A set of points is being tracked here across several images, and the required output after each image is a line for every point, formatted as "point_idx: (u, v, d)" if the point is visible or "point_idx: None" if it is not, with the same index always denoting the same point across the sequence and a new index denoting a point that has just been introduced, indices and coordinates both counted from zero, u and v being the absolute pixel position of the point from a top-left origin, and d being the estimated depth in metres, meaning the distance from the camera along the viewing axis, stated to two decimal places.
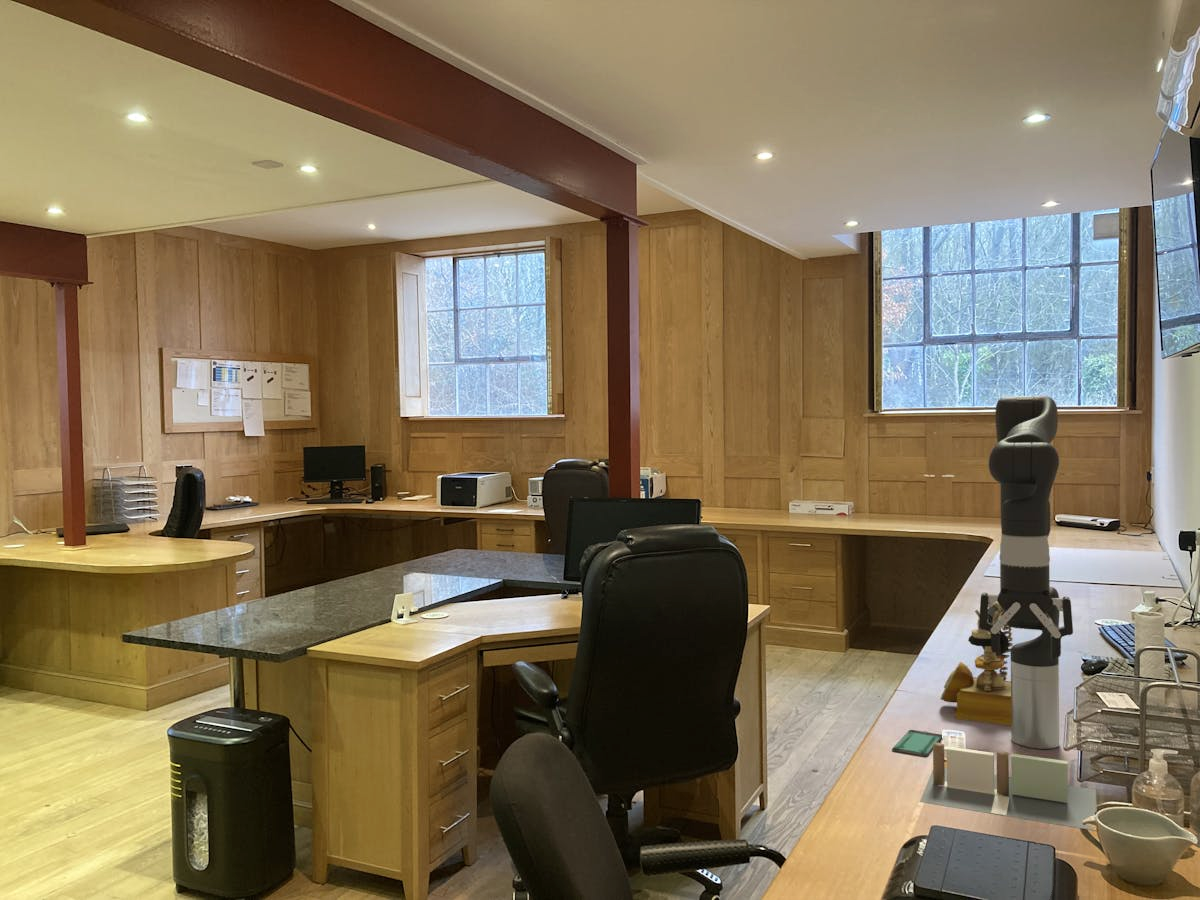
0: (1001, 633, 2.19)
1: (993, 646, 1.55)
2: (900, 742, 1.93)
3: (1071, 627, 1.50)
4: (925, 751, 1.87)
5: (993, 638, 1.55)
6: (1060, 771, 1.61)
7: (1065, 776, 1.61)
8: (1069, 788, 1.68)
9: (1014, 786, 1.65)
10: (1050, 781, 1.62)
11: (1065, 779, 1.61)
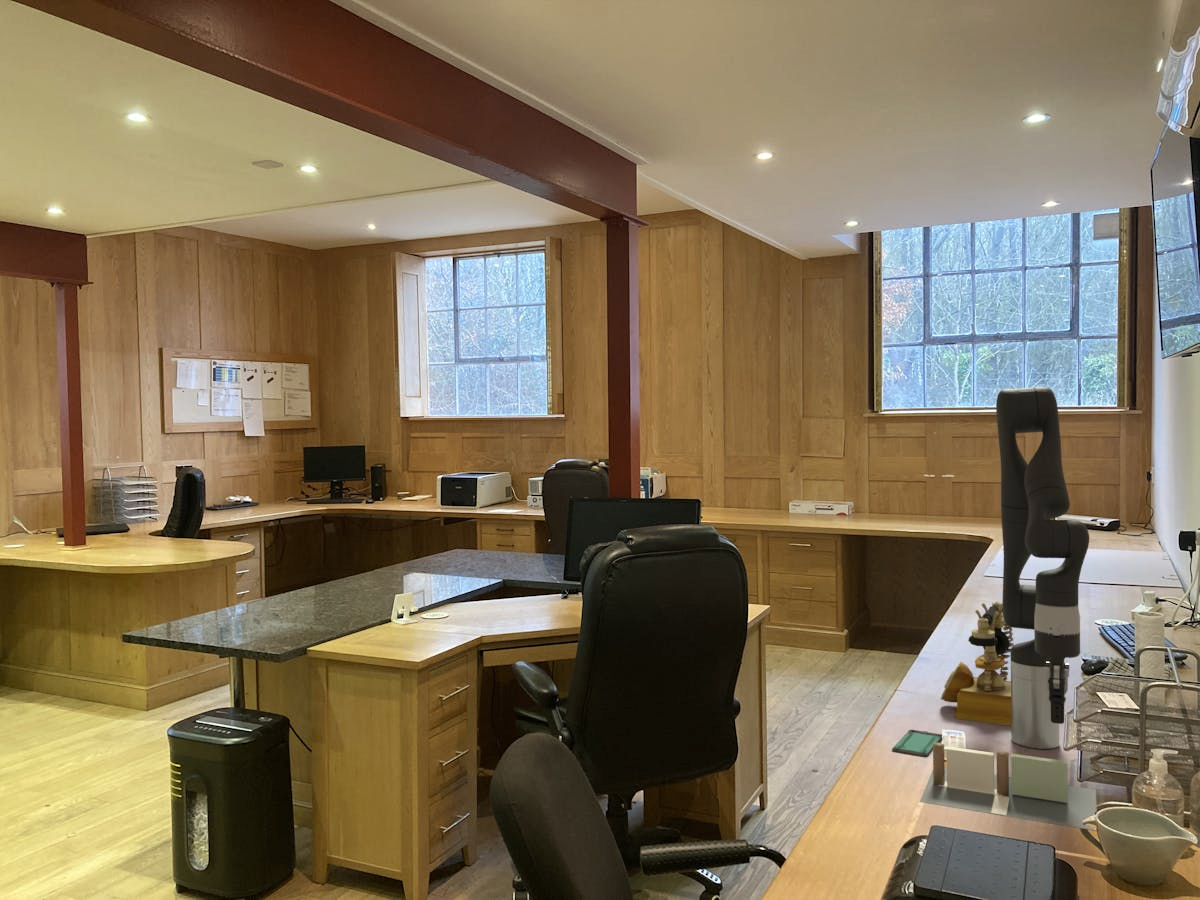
0: (1002, 633, 2.19)
1: (1061, 715, 1.67)
2: (900, 742, 1.93)
3: None
4: (925, 751, 1.87)
5: (1061, 708, 1.67)
6: (1060, 771, 1.61)
7: (1065, 776, 1.61)
8: (1069, 788, 1.68)
9: (1014, 786, 1.65)
10: (1050, 781, 1.62)
11: (1065, 779, 1.61)
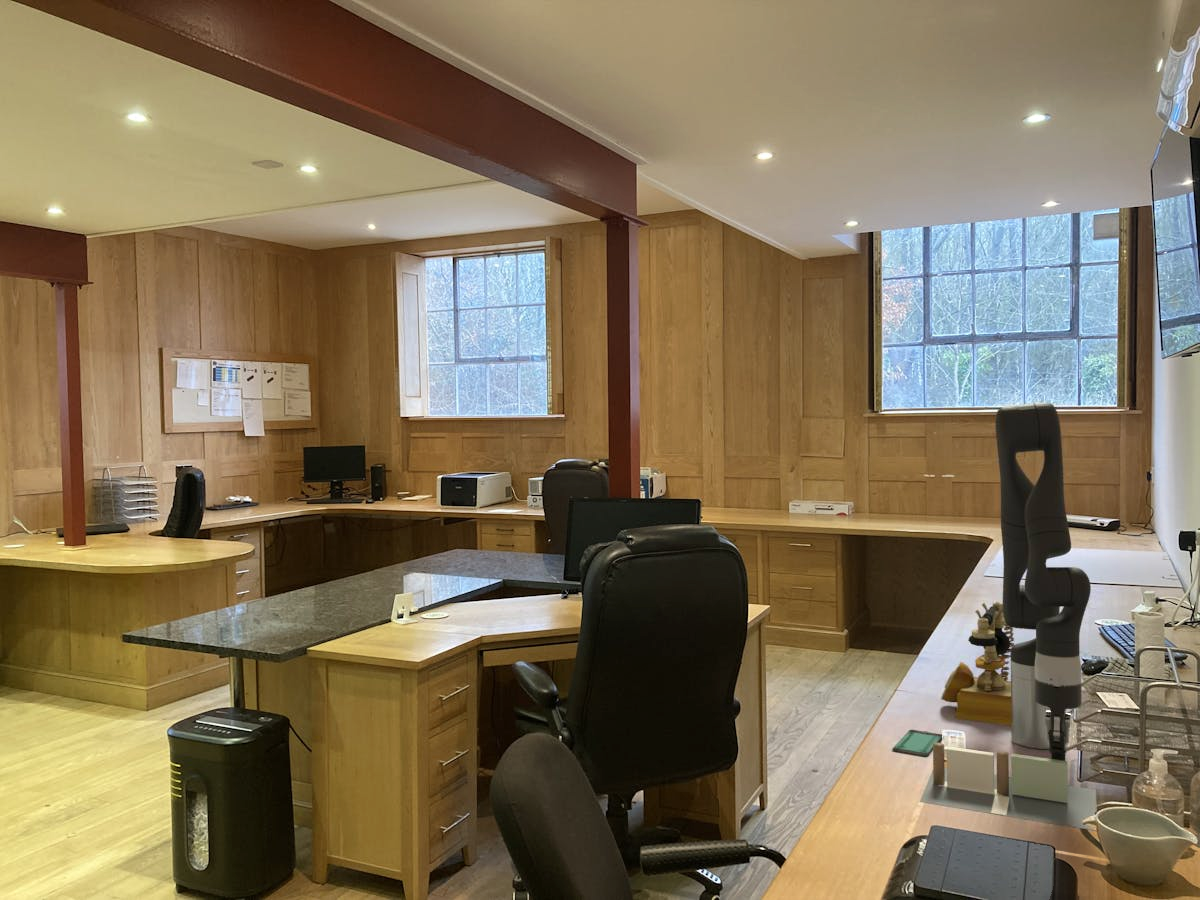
0: (1002, 633, 2.19)
1: None
2: (900, 742, 1.93)
3: None
4: (925, 751, 1.88)
5: (1062, 759, 1.64)
6: (1060, 771, 1.61)
7: (1065, 776, 1.61)
8: (1069, 788, 1.68)
9: (1014, 786, 1.65)
10: (1050, 781, 1.62)
11: (1065, 779, 1.61)
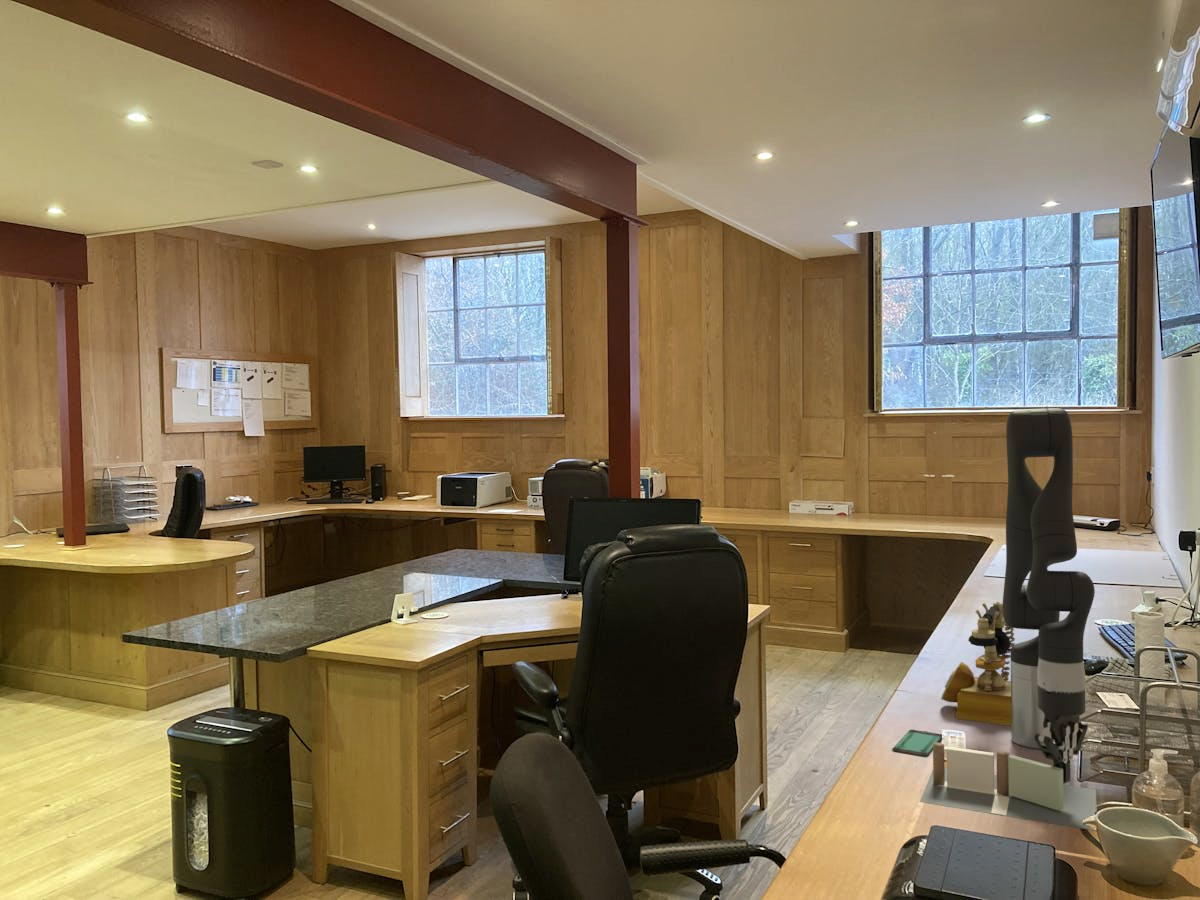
0: (1002, 633, 2.18)
1: None
2: (900, 742, 1.93)
3: (1078, 747, 1.61)
4: (925, 751, 1.88)
5: (1062, 767, 1.60)
6: (1052, 777, 1.58)
7: (1057, 783, 1.58)
8: (1069, 788, 1.68)
9: (1010, 787, 1.64)
10: (1043, 787, 1.60)
11: (1057, 786, 1.58)
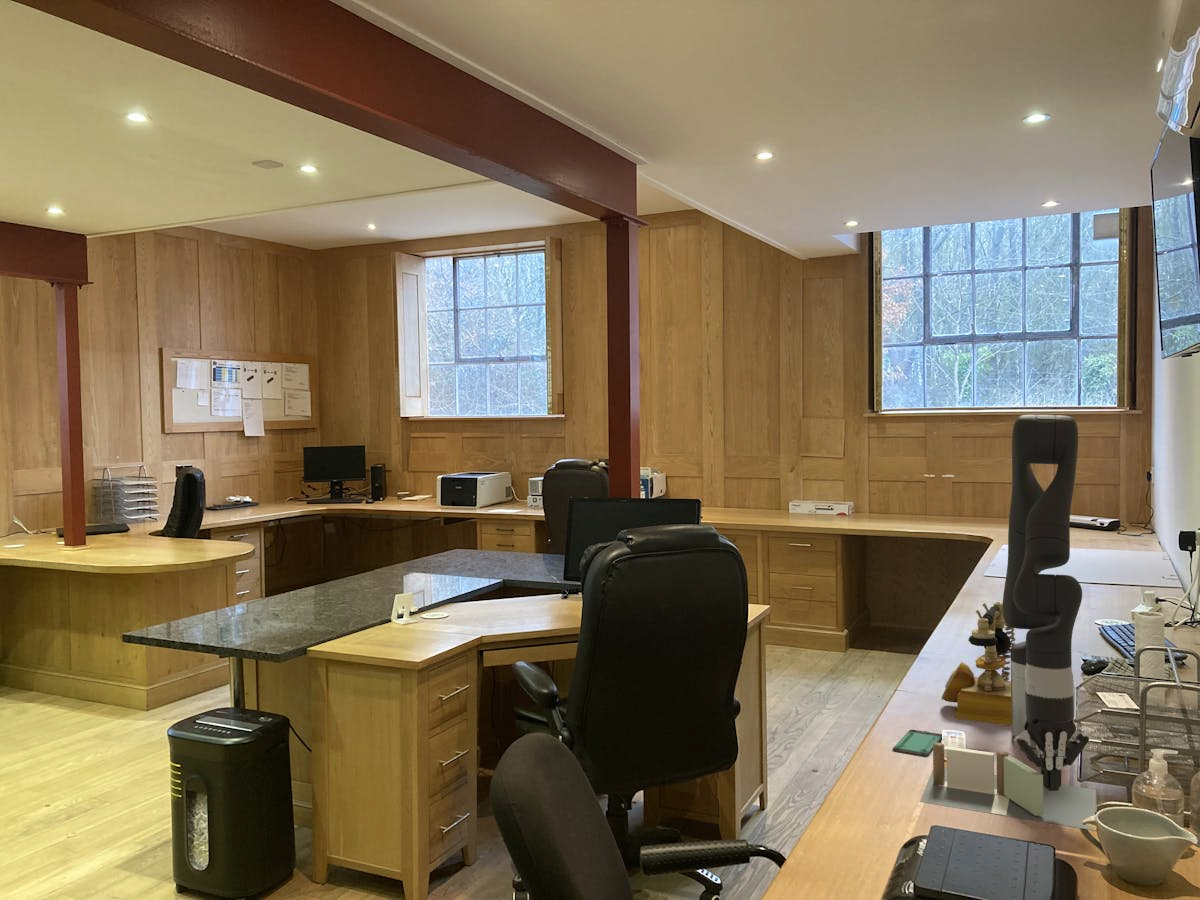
0: (1003, 633, 2.18)
1: (1047, 782, 1.57)
2: (900, 742, 1.93)
3: (1071, 757, 1.56)
4: (925, 751, 1.88)
5: (1047, 774, 1.57)
6: (1031, 781, 1.57)
7: (1034, 788, 1.56)
8: (1069, 788, 1.68)
9: (1005, 787, 1.64)
10: (1025, 790, 1.58)
11: (1034, 791, 1.56)
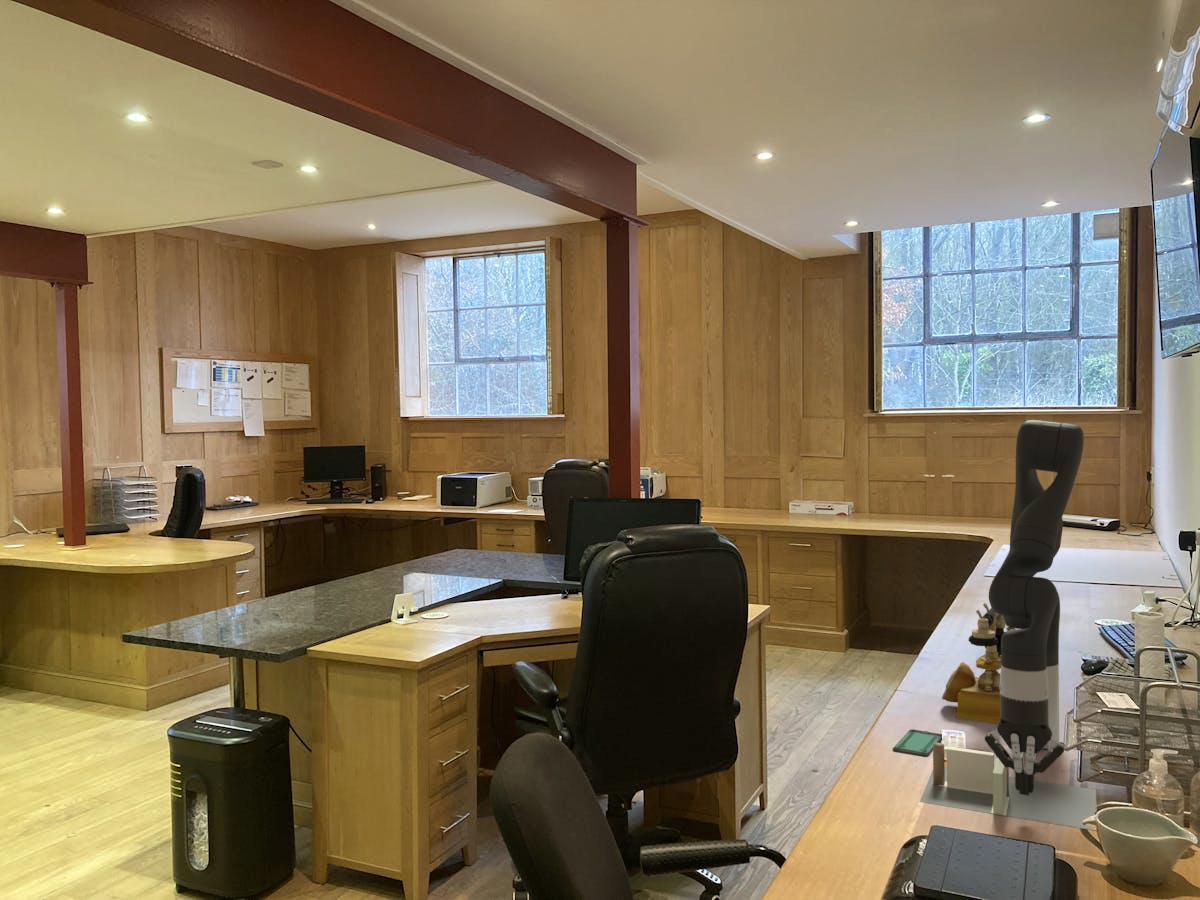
0: None
1: (1017, 784, 1.56)
2: (901, 741, 1.93)
3: (1043, 765, 1.53)
4: (926, 751, 1.88)
5: (1017, 776, 1.56)
6: None
7: (993, 785, 1.58)
8: (1069, 788, 1.68)
9: None
10: None
11: (993, 788, 1.58)
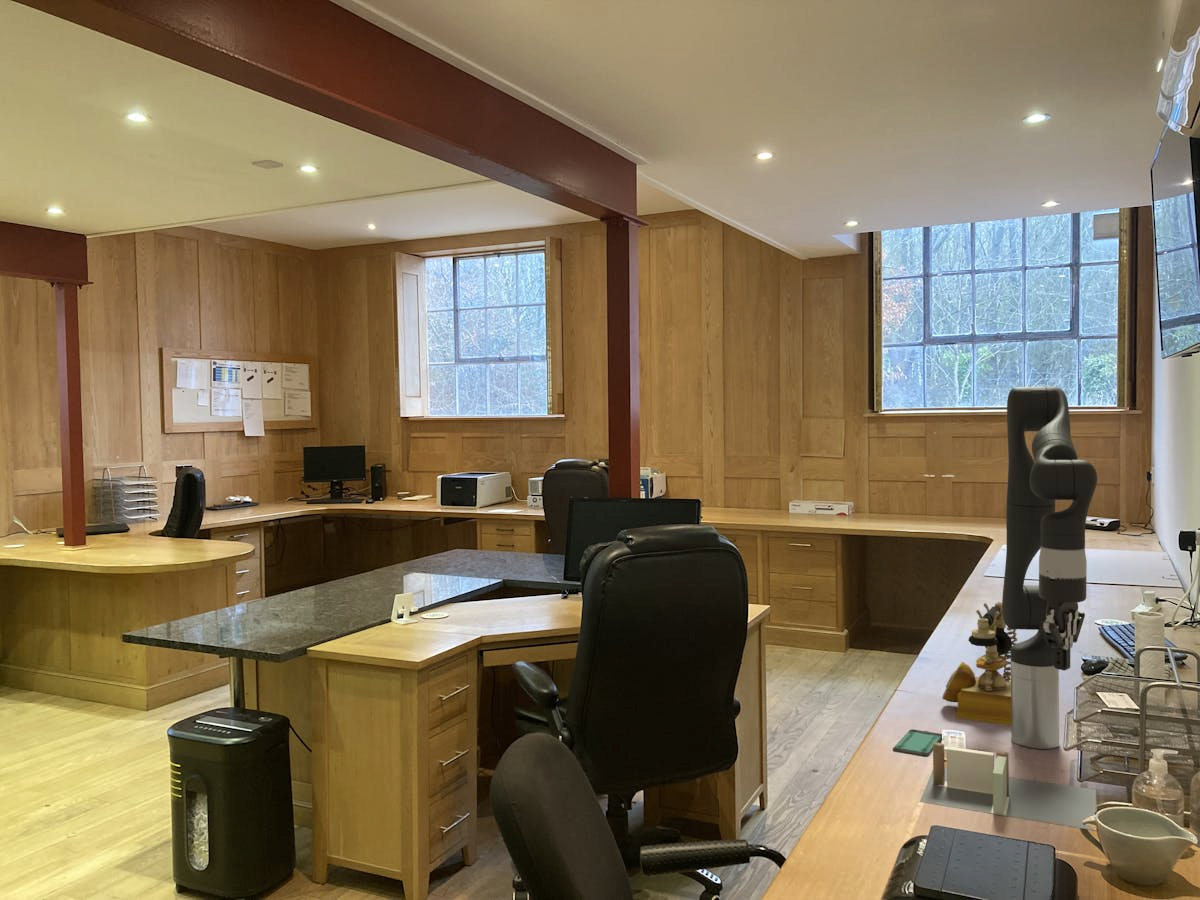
0: (1004, 633, 2.18)
1: (1063, 662, 1.61)
2: (901, 742, 1.93)
3: (1076, 635, 1.63)
4: (926, 750, 1.88)
5: (1063, 654, 1.61)
6: None
7: (993, 785, 1.58)
8: (1069, 788, 1.68)
9: None
10: None
11: (993, 788, 1.58)
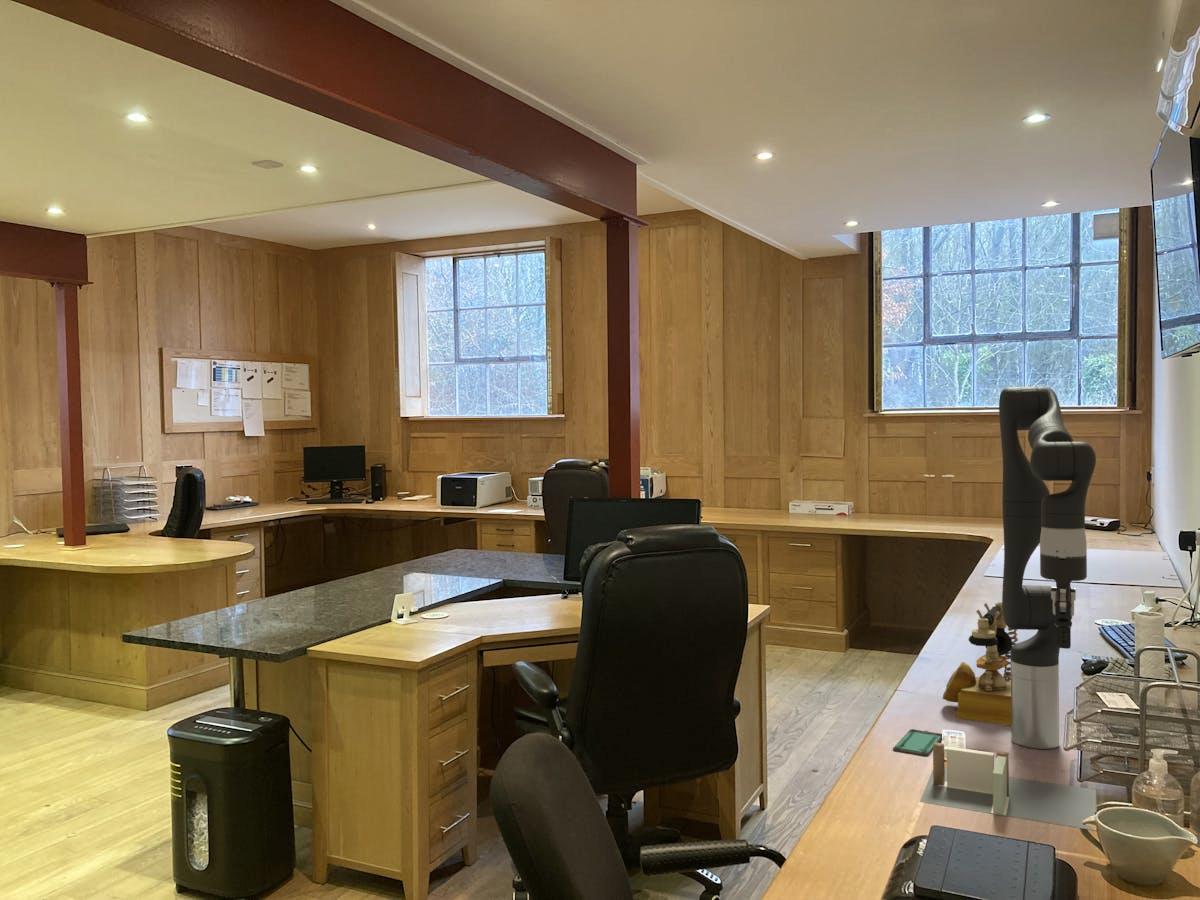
0: (1004, 633, 2.18)
1: (1068, 640, 1.64)
2: (901, 741, 1.93)
3: None
4: (926, 750, 1.88)
5: (1068, 632, 1.64)
6: None
7: (993, 785, 1.58)
8: (1069, 788, 1.68)
9: None
10: None
11: (993, 788, 1.58)
